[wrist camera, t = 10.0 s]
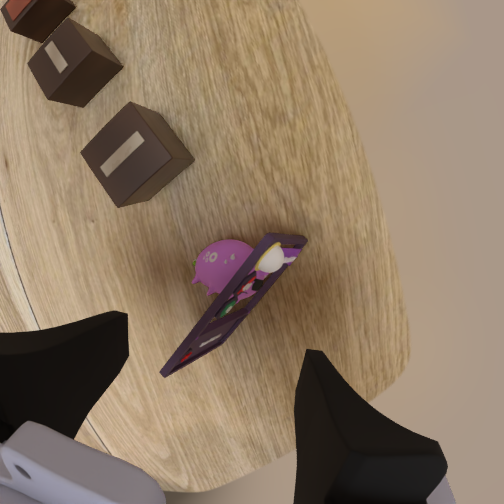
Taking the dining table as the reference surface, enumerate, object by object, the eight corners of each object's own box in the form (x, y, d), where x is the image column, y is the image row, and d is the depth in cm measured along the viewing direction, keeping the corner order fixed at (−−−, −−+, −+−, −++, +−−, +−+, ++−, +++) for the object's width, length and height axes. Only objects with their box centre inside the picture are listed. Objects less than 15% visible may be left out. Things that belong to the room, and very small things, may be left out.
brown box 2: (98, 35, 17) (66, 16, 13) (123, 67, 18) (91, 49, 14) (61, 74, 18) (25, 63, 14) (83, 108, 19) (46, 99, 15)
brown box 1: (60, -13, 16) (33, -30, 12) (76, 7, 17) (46, -11, 13) (29, 21, 17) (-1, 9, 13) (42, 43, 17) (9, 31, 13)
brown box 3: (158, 112, 18) (129, 100, 14) (195, 160, 19) (172, 157, 15) (114, 154, 19) (78, 152, 15) (147, 201, 20) (116, 209, 16)
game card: (172, 389, 15) (288, 250, 13) (110, 316, 16) (198, 174, 14) (230, 352, 21) (318, 248, 19) (178, 299, 22) (253, 194, 20)
